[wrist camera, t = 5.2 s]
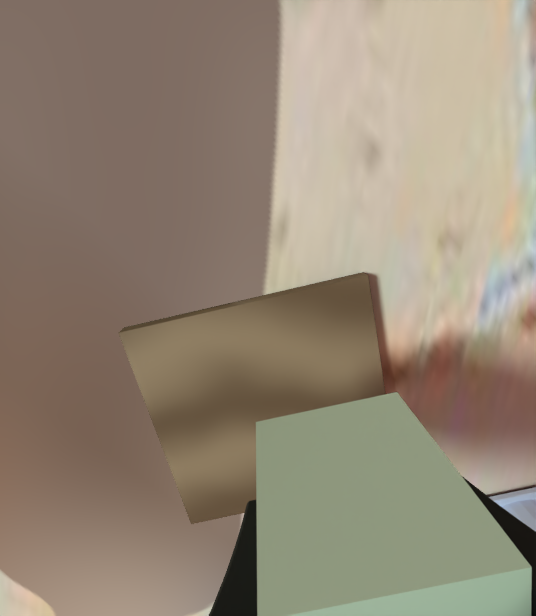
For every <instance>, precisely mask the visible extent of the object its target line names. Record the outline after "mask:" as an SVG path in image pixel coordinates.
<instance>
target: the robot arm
mask: <svg viewBox="0 0 536 616" xmlns="http://www.w3.org/2000/svg"><path fill="white" fill-rule="evenodd" d="M463 478H464V477H463ZM464 480H465V481H466V482H467V484H468V485H469V486H470V488H471V489H472V490H473V492H474V493H475V494H476V495H477V497H478V498H479V499H480V501H481V502H482V503H483V505H484V506H485V507H486V508H487V510H488V511H489V512H490V514H491V515H492V516H493V518H494V519H495V520H496V521H497V523H498V524H499V525H500V527H501V528H502V529H503V531H504V532H505V533H506V534H507V536H508V537H509V538H510V540H511V541H512V542H513V544H514V545H515V546H516V547H517V549H518V550H519V551H520V553H521V554H522V555H523V557H524V558H525V559H526V560H527V562H528V563H529V564H530V566H531V567H532V589H531V616H536V487H534V488H529V489H524V490H520V491H515V492H510V493H505V494H501V495H496V496H491V497H488V496H486V495H485V494H484V493H483V492H481V491H480V490H479V489H478V488H476V487H475V486H474V485H472V484H471V483H470V482H469V481H467V480H466V479H465V478H464ZM209 616H257V505H256V500H252V501H249V502H248V503H247V505H246V509H245V514H244V518H243V522H242V525H241V529H240V532H239V535H238V539H237V542H236V545H235V548H234V551H233V554H232V557H231V560H230V563H229V566H228V569H227V571H226V574H225V577H224V579H223V582H222V584H221V587H220V590H219V592H218V595H217V597H216V600H215V602H214V605H213V607H212V609H211V612H210V614H209Z"/></svg>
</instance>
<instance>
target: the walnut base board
mask: <svg viewBox="0 0 536 616" xmlns="http://www.w3.org/2000/svg"><path fill="white" fill-rule="evenodd" d="M119 336H120V338H121V341H122V343H123V346H124V348H125V351H126V353H127V356H128V359H129V362H130V364H131V367H132V370H133V372H134V375H135V377H136V380H137V383H138V385H139V388H140V391H141V393H142V396H143V398H144V401H145V404H146V406H147V409H148V412H149V414H150V417H151V420H152V422H153V425H154V427H155V430H156V432H157V435H158V438H159V440H160V443H161V446H162V448H163V451H164V454H165V456H166V459H167V461H168V464H169V467H170V469H171V472H172V475H173V477H174V480H175V482H176V485H177V488H178V490H179V493H180V496H181V498H182V501H183V503H184V506H185V509H186V511H187V514H188V516H189V519H190V522H191V524H194V523H198V522H203V521H208V520H212V519H217V518H222V517H227V516H231V515H236V514H241V513H245V509H246V505H247V503H248V502H249V501H252V500H256V422H258V421H263V420H268V419H272V418H277V417H282V416H287V415H291V414H296V413H301V412H305V411H310V410H315V409H319V408H324V407H329V406H333V405H338V404H343V403H348V402H352V401H357V400H362V399H366V398H371V397H376V396H380V395H385V388H384V381H383V374H382V367H381V360H380V353H379V346H378V339H377V332H376V325H375V319H374V312H373V305H372V298H371V291H370V284H369V277H368V275H367V274H365V273H364V272H362V273H358V274H354V275H349V276H345V277H341V278H336V279H332V280H328V281H323V282H319V283H315V284H310V285H306V286H302V287H297V288H293V289H289V290H285V291H280V292H276V293H272V294H267V295H263V296H259V297H254V298H250V299H246V300H241V301H238V302H233V303H228V304H224V305H220V306H216V307H211V308H207V309H202V310H198V311H194V312H190V313H185V314H181V315H176V316H172V317H168V318H163V319H159V320H155V321H150V322H146V323H142V324H138V325H134V326H129V327H124V328H123V329H122V330H121V331H120V332H119Z"/></svg>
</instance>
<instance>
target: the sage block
mask: <svg viewBox="0 0 536 616" xmlns="http://www.w3.org/2000/svg"><path fill="white" fill-rule="evenodd" d="M256 505H257V616H531V589H532V567H531V566H530V564H529V563H528V562H527V560H526V559H525V558H524V557H523V555H522V554H521V553H520V551H519V550H518V549H517V547H516V546H515V545H514V544H513V542H512V541H511V540H510V538H509V537H508V536H507V534H506V533H505V532H504V531H503V529H502V528H501V527H500V525H499V524H498V523H497V521H496V520H495V519H494V518H493V516H492V515H491V514H490V512H489V511H488V510H487V508H486V507H485V506H484V505H483V503H482V502H481V501H480V499H479V498H478V497H477V495H476V494H475V493H474V492H473V490H472V489H471V488H470V486H469V485H468V484H467V482H466V481H465V480H464V478H463V477H462V476H461V475H460V473H459V472H458V471H457V469H456V468H455V467H454V465H453V464H452V463H451V462H450V460H449V459H448V458H447V456H446V455H445V454H444V452H443V451H442V450H441V449H440V447H439V446H438V445H437V443H436V442H435V441H434V439H433V438H432V437H431V436H430V434H429V433H428V432H427V430H426V429H425V428H424V426H423V425H422V424H421V423H420V421H419V420H418V419H417V417H416V416H415V415H414V413H413V412H412V411H411V410H410V408H409V407H408V406H407V404H406V403H405V402H404V400H403V399H402V398H401V397H400V395H399V394H398V393H397V392H395V393H390V394H385V395H380V396H376V397H371V398H366V399H362V400H357V401H352V402H348V403H343V404H338V405H333V406H329V407H324V408H319V409H315V410H310V411H305V412H301V413H296V414H291V415H287V416H282V417H277V418H272V419H268V420H263V421H258V422H256Z"/></svg>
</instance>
